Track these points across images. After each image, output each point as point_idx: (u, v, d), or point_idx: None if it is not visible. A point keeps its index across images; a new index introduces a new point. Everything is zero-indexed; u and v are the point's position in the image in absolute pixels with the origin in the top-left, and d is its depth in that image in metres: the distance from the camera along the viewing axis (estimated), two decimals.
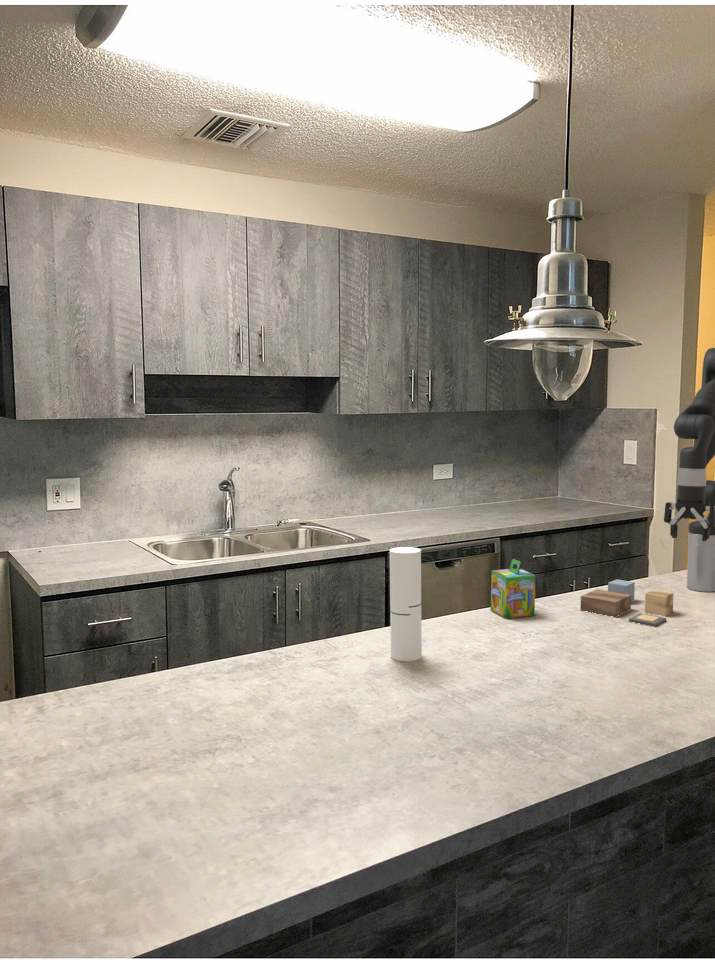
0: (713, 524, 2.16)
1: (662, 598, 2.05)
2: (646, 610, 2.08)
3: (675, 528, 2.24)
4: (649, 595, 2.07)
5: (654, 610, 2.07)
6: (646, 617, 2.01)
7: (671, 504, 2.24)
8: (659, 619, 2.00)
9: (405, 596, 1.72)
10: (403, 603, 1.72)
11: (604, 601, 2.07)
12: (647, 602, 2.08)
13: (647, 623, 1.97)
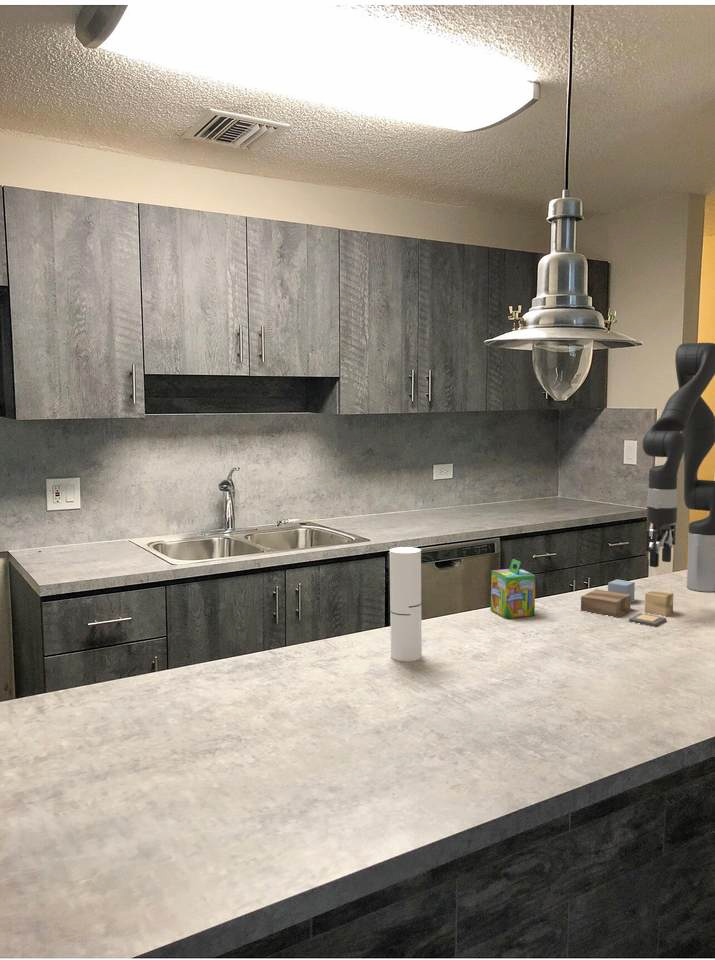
0: (674, 542, 2.11)
1: (662, 598, 2.05)
2: (646, 610, 2.08)
3: None
4: (649, 595, 2.07)
5: (654, 610, 2.07)
6: (646, 617, 2.01)
7: None
8: (659, 619, 2.00)
9: (405, 596, 1.72)
10: (403, 603, 1.72)
11: (605, 601, 2.07)
12: (647, 602, 2.08)
13: (647, 623, 1.97)
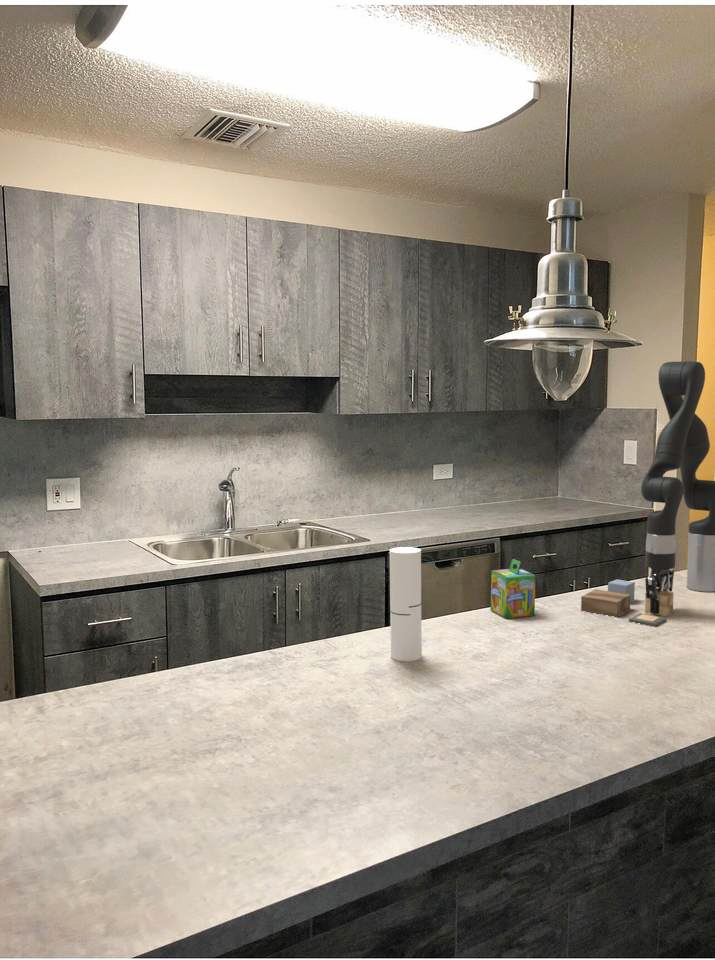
0: (671, 589, 2.11)
1: (662, 598, 2.05)
2: (646, 610, 2.08)
3: None
4: None
5: None
6: (646, 617, 2.01)
7: None
8: (659, 619, 2.00)
9: (405, 596, 1.72)
10: (403, 602, 1.72)
11: (605, 601, 2.06)
12: (647, 602, 2.08)
13: (647, 623, 1.97)
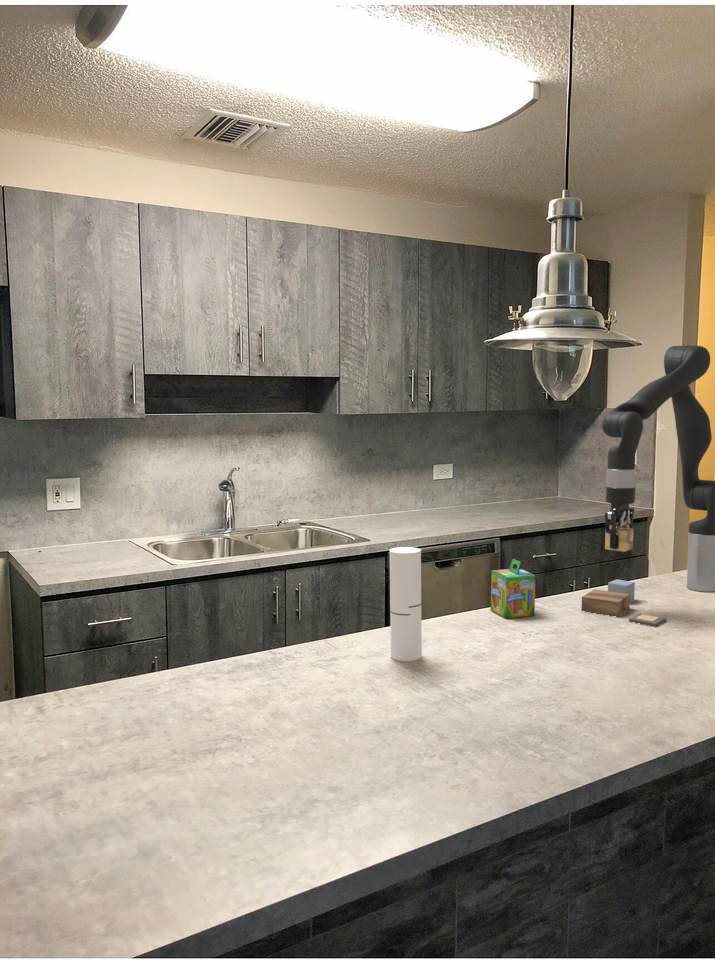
0: (631, 526, 2.11)
1: (621, 533, 2.05)
2: (606, 546, 2.08)
3: None
4: None
5: None
6: (646, 617, 2.01)
7: None
8: (659, 619, 2.00)
9: (405, 596, 1.72)
10: (403, 603, 1.72)
11: (606, 601, 2.06)
12: (607, 538, 2.08)
13: (647, 623, 1.97)
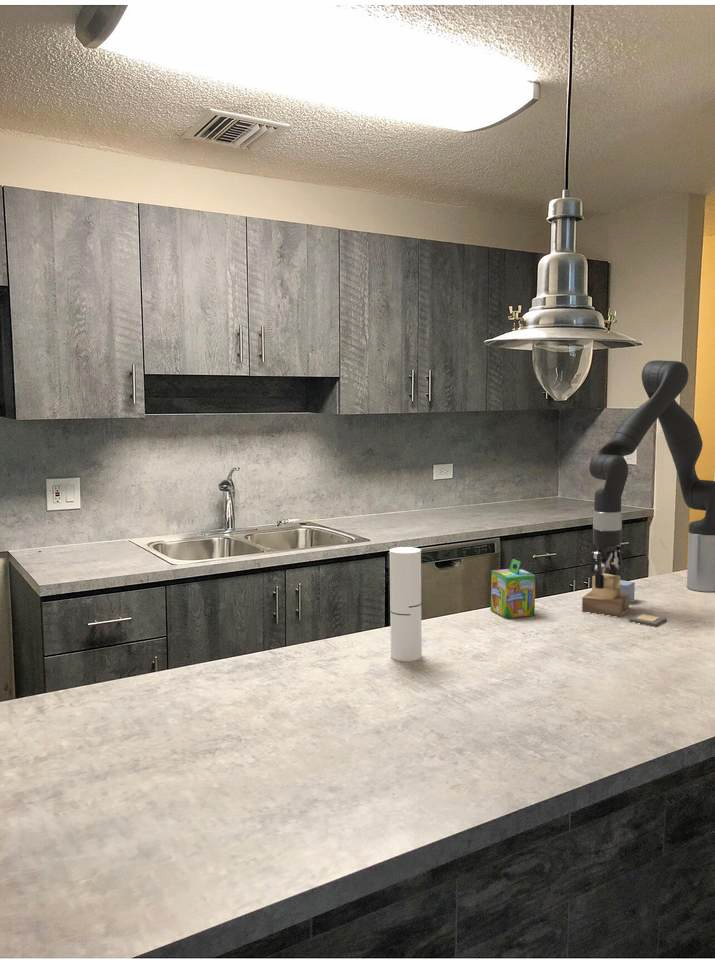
0: (621, 563, 2.15)
1: (608, 581, 2.08)
2: (593, 593, 2.11)
3: None
4: None
5: (600, 592, 2.09)
6: (646, 617, 2.01)
7: None
8: (659, 619, 2.00)
9: (405, 596, 1.72)
10: (403, 602, 1.72)
11: (607, 601, 2.06)
12: (594, 585, 2.11)
13: (647, 623, 1.97)
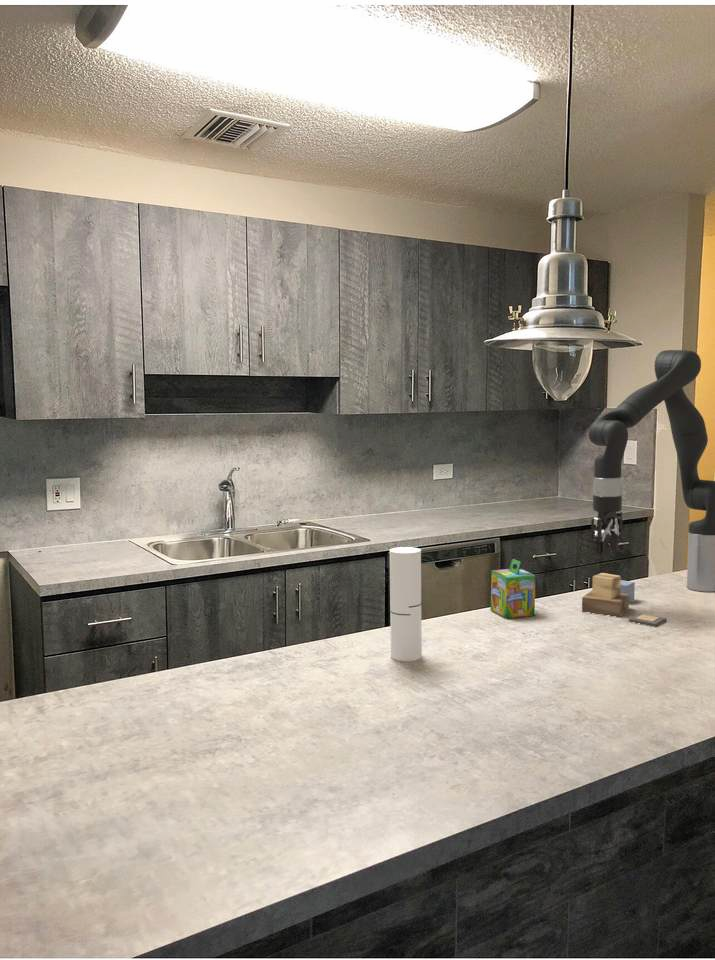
0: (621, 529, 2.14)
1: (608, 581, 2.08)
2: (593, 592, 2.11)
3: None
4: (596, 578, 2.10)
5: (600, 592, 2.10)
6: (646, 617, 2.01)
7: None
8: (659, 619, 2.00)
9: (405, 596, 1.72)
10: (403, 602, 1.72)
11: (607, 601, 2.06)
12: (594, 585, 2.11)
13: (647, 623, 1.97)
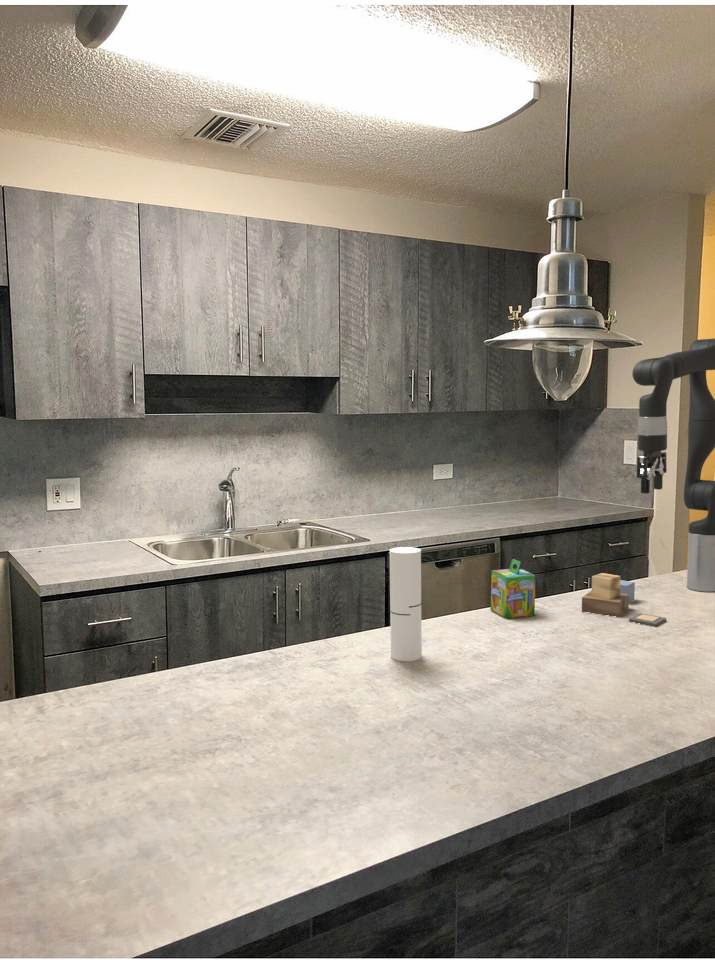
0: (666, 470, 2.16)
1: (607, 581, 2.08)
2: (593, 593, 2.11)
3: None
4: (595, 578, 2.10)
5: (599, 592, 2.10)
6: (646, 617, 2.01)
7: None
8: (659, 619, 2.00)
9: (405, 596, 1.72)
10: (403, 603, 1.72)
11: (607, 602, 2.06)
12: (593, 585, 2.11)
13: (647, 623, 1.97)
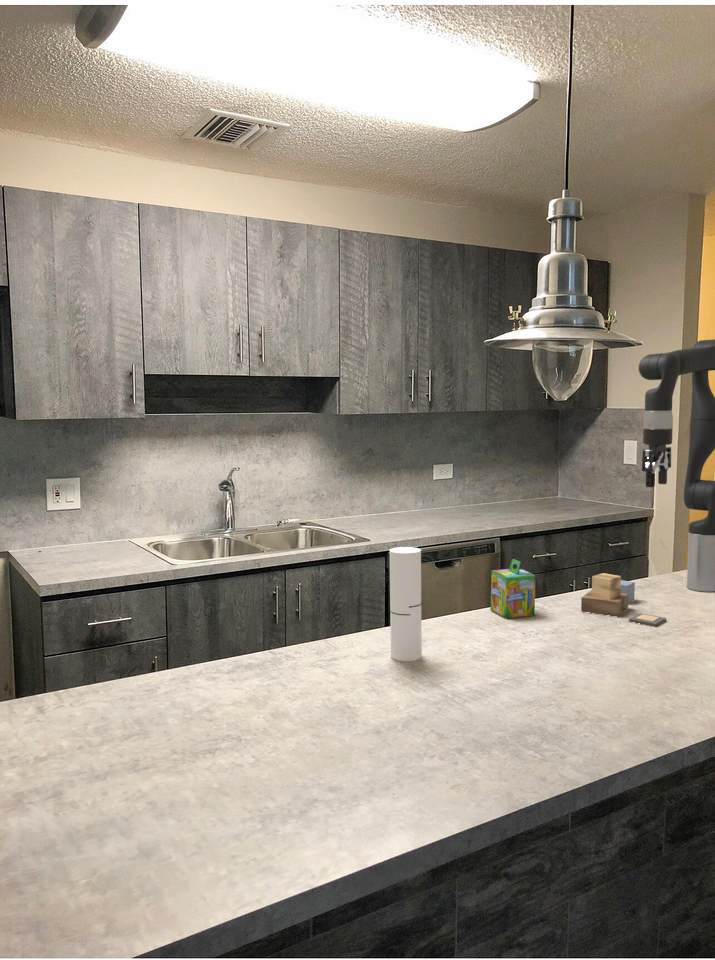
0: (670, 465, 2.16)
1: (607, 581, 2.08)
2: (593, 593, 2.11)
3: None
4: (595, 578, 2.10)
5: (600, 592, 2.10)
6: (646, 617, 2.01)
7: None
8: (659, 619, 2.00)
9: (405, 596, 1.72)
10: (403, 603, 1.72)
11: (606, 601, 2.06)
12: (594, 585, 2.11)
13: (647, 623, 1.97)
